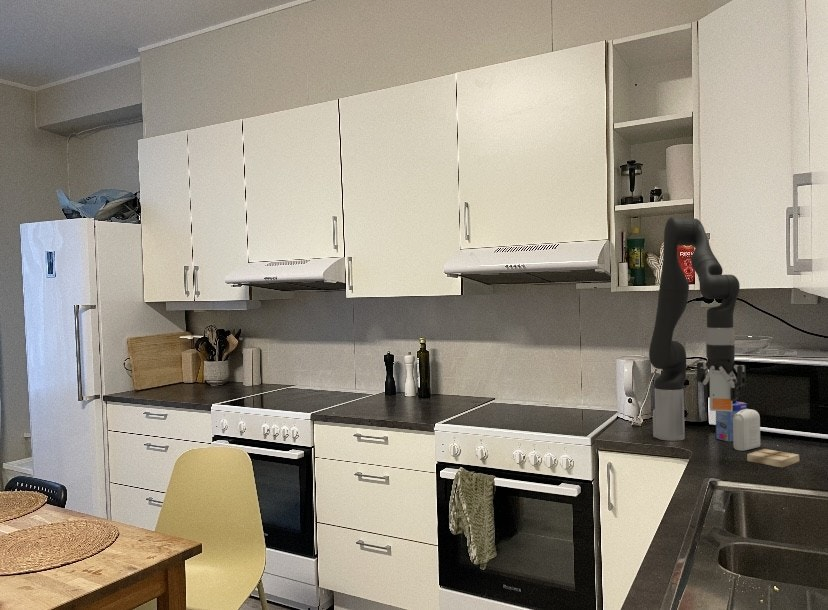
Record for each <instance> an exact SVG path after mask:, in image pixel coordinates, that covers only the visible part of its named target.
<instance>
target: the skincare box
mask: <svg viewBox="0 0 828 610" xmlns="http://www.w3.org/2000/svg"><path fill="white" fill-rule="evenodd" d="M733 373H734V371H733V372H732V371H731V373H730V374H729V376H730V377H733ZM730 388H732V387H731V386H730V384H729V382H728V381H727V380H726V379H725V377H724V375H723V374H722V373H721V371H720V370H710V397H709V410H710V412H711V411H713V412H716V411H727V412H732V411H733V401H731V396H730Z"/></svg>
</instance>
